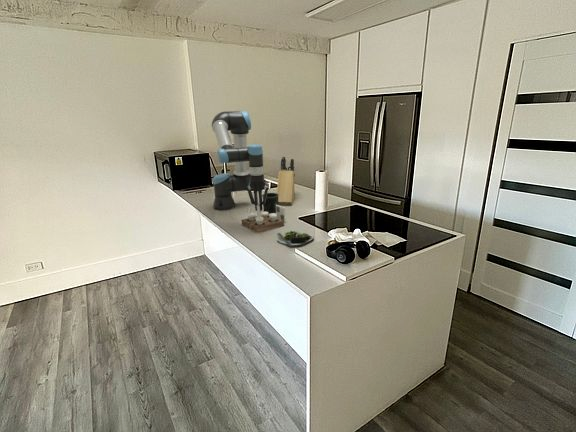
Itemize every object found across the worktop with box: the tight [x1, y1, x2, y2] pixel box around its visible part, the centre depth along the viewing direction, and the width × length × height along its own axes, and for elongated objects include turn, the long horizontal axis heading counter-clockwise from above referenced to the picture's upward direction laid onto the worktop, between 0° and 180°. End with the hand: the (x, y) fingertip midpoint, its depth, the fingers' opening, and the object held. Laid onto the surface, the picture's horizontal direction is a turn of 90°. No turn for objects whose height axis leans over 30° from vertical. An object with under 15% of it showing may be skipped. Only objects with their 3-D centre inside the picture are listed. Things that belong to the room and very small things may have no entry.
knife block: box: [276, 156, 296, 206], centre depth 231 cm, size 11×35×31 cm, turn 174°
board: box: [241, 214, 285, 234], centre depth 183 cm, size 18×18×3 cm
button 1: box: [247, 212, 256, 222], centre depth 183 cm, size 4×4×5 cm
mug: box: [262, 192, 280, 214], centre depth 206 cm, size 11×15×12 cm
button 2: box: [256, 216, 264, 226], centre depth 176 cm, size 4×4×5 cm
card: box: [276, 204, 287, 223], centre depth 190 cm, size 9×4×9 cm, turn 36°
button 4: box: [269, 213, 277, 222], centre depth 181 cm, size 4×4×5 cm
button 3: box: [261, 211, 268, 219], centre depth 188 cm, size 4×4×5 cm
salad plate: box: [276, 230, 314, 248], centre depth 160 cm, size 19×18×5 cm
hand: (259, 216), depth 175 cm, fingers closed
